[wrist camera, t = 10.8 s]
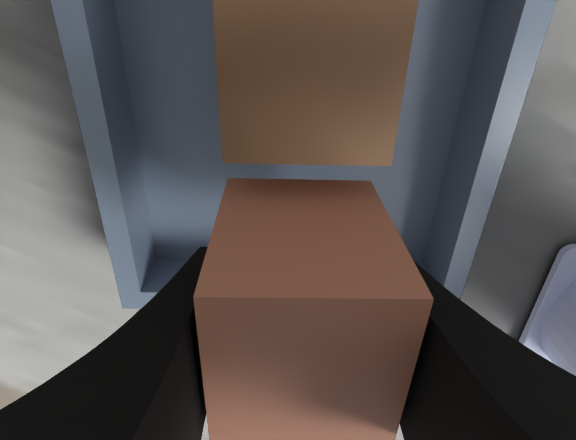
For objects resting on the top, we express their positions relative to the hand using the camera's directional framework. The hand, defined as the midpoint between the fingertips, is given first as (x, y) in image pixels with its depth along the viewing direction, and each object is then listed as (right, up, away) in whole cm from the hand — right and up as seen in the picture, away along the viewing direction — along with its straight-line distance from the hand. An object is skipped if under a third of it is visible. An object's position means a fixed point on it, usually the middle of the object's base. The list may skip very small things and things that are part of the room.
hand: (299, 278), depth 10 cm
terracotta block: (0, +1, +1) cm, 2 cm away
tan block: (0, +7, +2) cm, 7 cm away
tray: (0, +5, +4) cm, 7 cm away
